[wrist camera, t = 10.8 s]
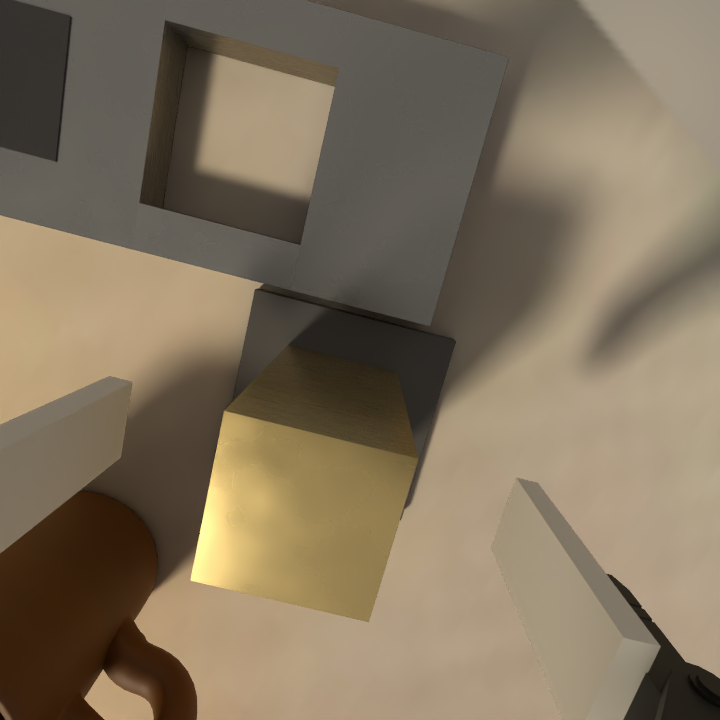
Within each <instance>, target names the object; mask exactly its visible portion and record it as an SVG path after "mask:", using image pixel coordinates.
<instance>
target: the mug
mask: <svg viewBox="0 0 720 720" xmlns="http://www.w3.org/2000/svg"><path fill="white" fill-rule="evenodd" d="M157 570H158V560H157V552H156V547H155V544H154V541H153V538H152V536H151V534H150V532H149V531H148V529H147V527H146V526H145V525H144V523H143V522H142V521H141V520H140V518H139V517H138V516H137V515H136V514H135V513H133V512H132V511H131V510H130V509H129V508H127V507H126V506H124V505H123V504H122V503H120V502H118V501H116V500H114V499H112V498H110V497H107V496H105V495H101V494H97V493H93V492H87V491H78V492H77V493H76V494H75V495H73V496H72V497H71V498H70V499H68V500H67V501H66V502H64V503H63V504H62V505H61V506H59V507H58V508H57V509H56V510H54V511H53V512H52V513H51V514H49V515H48V516H47V517H46V518H44V519H43V520H42V521H41V522H39V523H38V524H37V525H36V526H34V527H33V528H32V529H30V530H29V531H28V532H27V533H25V534H24V535H23V536H22V537H20V538H19V539H18V540H17V541H15V542H14V543H13V544H12V545H10V546H9V547H8V548H7V549H5V550H4V551H3V552H1V553H0V720H104V719H103V718H102V717H101V716H100V715H99V714H98V713H97V712H96V711H95V710H94V709H93V708H92V707H91V706H90V705H89V704H88V703H87V702H86V701H85V699H84V698H85V696H86V695H87V693H88V692H89V690H90V689H91V687H92V685H93V684H94V682H95V681H96V679H97V678H98V676H99V675H100V673H101V672H102V670H103V669H104V671H105V672H106V674H107V675H108V677H109V678H110V679H111V680H112V681H113V682H114V683H115V684H116V685H118V686H120V687H121V688H123V689H124V690H127V691H129V692H131V693H134V694H137V695H140V696H141V697H143V698H145V699H146V700H147V701H149V703H150V704H151V707H152V709H153V715H154V720H197V695H196V691H195V687H194V683H193V681H192V679H191V677H190V675H189V673H188V671H187V670H186V669H185V667H184V666H183V665H182V664H181V662H180V661H179V660H178V659H177V658H175V657H174V656H173V655H172V654H170V653H169V652H167V651H165V650H163V649H161V648H159V647H157V646H154V645H152V644H151V643H149V642H148V641H147V640H146V638H145V636H144V635H143V634H142V633H141V632H140V630H139V629H138V628H137V626H136V624H135V622H134V620H135V619H136V617H137V616H138V614H139V612H140V611H141V609H142V608H143V606H144V604H145V603H146V601H147V599H148V597H149V596H150V594H151V591H152V589H153V586H154V584H155V581H156V576H157Z"/></svg>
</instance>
